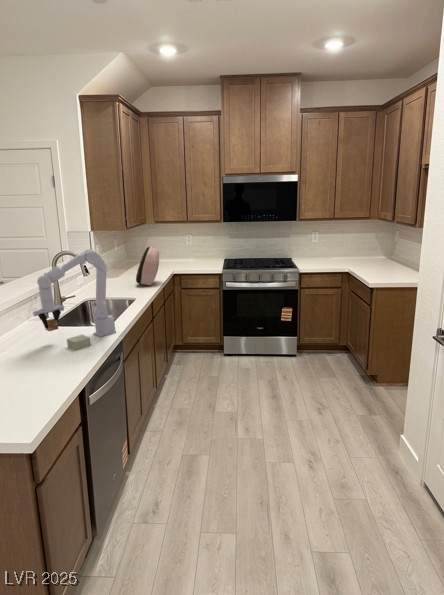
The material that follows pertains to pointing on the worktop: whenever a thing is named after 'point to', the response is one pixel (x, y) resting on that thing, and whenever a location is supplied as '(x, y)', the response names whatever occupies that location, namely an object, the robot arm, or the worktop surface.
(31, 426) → the worktop surface
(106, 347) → the worktop surface
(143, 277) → the pink rounded shell
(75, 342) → the sage base block
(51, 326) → the walnut cube
